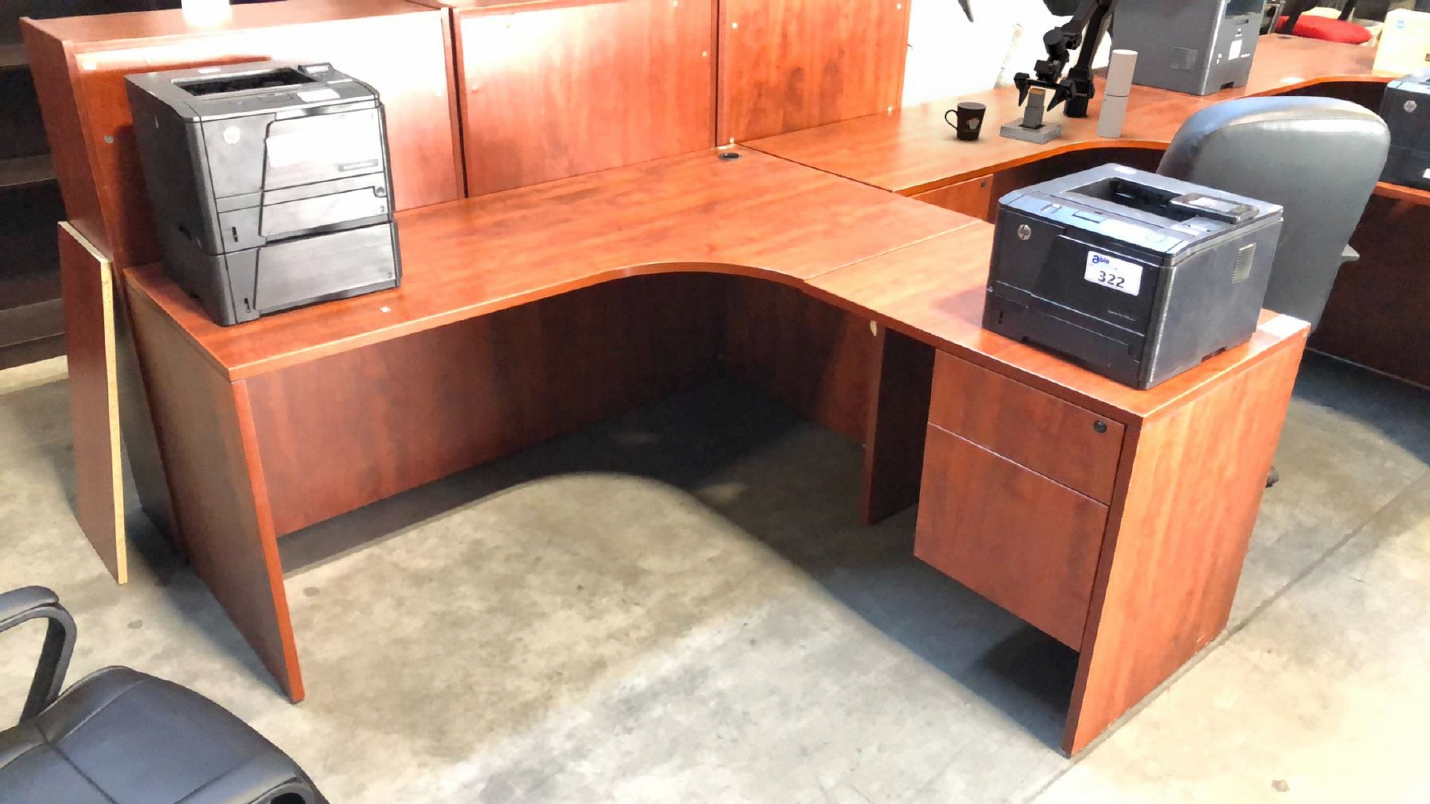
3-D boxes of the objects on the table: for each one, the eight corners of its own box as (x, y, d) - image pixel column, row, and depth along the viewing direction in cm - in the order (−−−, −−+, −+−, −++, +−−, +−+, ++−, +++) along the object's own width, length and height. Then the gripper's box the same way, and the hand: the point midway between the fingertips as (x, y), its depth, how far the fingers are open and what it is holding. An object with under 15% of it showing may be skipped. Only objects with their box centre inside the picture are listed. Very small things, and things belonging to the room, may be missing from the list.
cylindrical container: (1108, 139, 321) (1125, 55, 308) (1091, 133, 326) (1107, 50, 314) (1125, 136, 324) (1142, 53, 311) (1108, 130, 329) (1124, 48, 317)
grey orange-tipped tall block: (1027, 132, 326) (1035, 87, 319) (1039, 135, 323) (1047, 89, 316) (1020, 135, 322) (1028, 89, 315) (1032, 138, 320) (1040, 92, 313)
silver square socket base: (1019, 126, 331) (1020, 117, 330) (1061, 135, 324) (1062, 125, 322) (999, 135, 322) (1000, 125, 320) (1041, 144, 314) (1043, 134, 313)
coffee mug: (983, 136, 321) (988, 103, 316) (979, 143, 314) (984, 110, 309) (945, 132, 324) (949, 99, 319) (941, 139, 317) (945, 106, 312)
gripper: (1021, 44, 318) (999, 87, 316) (1079, 53, 308) (1057, 97, 306) (1027, 67, 327) (1006, 109, 325) (1085, 76, 317) (1063, 119, 315)
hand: (1033, 108), depth 318 cm, fingers open, 9 cm apart
